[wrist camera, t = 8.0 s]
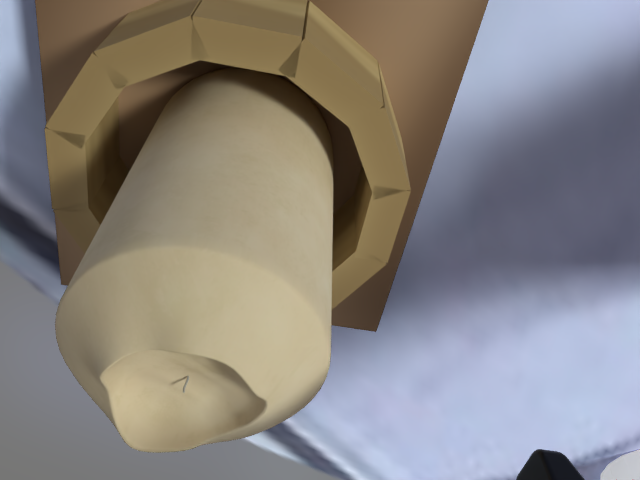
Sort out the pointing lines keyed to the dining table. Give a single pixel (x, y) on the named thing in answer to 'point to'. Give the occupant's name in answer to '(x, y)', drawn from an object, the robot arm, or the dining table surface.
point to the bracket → (271, 57)
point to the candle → (210, 270)
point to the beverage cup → (623, 468)
